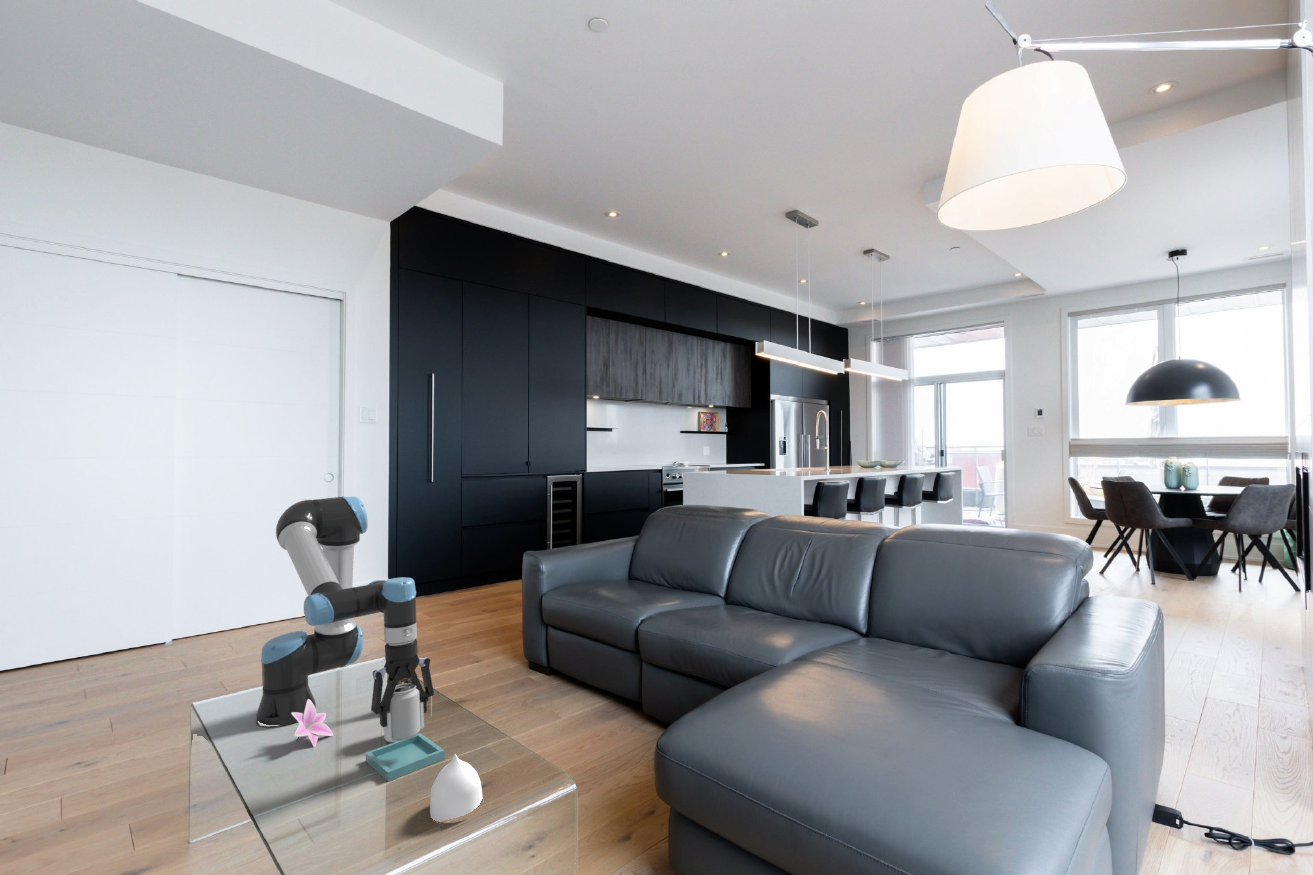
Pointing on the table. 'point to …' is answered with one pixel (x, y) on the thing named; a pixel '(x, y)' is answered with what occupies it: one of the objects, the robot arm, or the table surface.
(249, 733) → the table surface
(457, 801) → the teardrop
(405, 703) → the can
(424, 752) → the tray
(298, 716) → the lily
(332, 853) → the table surface
